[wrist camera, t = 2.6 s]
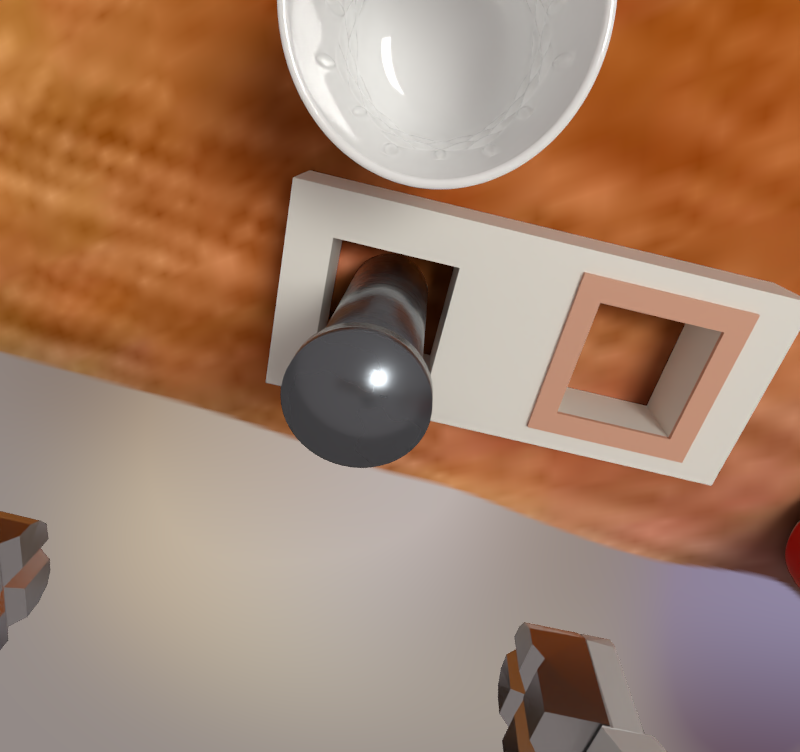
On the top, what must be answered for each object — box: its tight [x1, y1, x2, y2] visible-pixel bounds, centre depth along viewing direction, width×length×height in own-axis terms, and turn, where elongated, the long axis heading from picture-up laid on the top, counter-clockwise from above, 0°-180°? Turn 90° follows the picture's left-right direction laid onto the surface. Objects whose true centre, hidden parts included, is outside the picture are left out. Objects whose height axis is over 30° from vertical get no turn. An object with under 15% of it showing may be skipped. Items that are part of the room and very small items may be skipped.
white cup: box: [277, 0, 617, 189], centre depth 18 cm, size 8×8×10 cm
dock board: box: [266, 170, 800, 486], centre depth 25 cm, size 21×9×3 cm, turn 77°
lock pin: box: [281, 254, 433, 468], centre depth 21 cm, size 4×4×11 cm
